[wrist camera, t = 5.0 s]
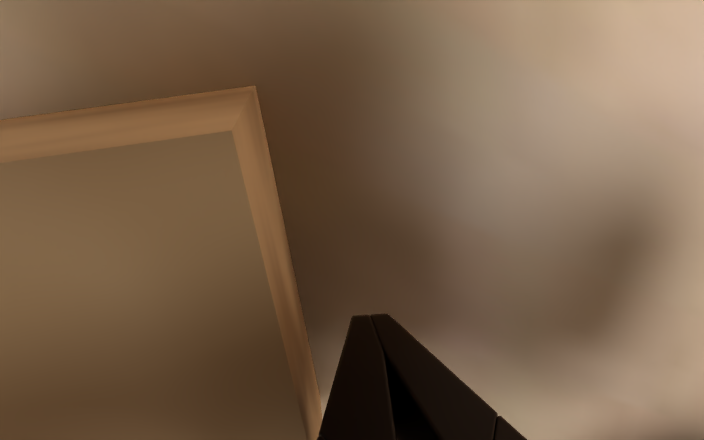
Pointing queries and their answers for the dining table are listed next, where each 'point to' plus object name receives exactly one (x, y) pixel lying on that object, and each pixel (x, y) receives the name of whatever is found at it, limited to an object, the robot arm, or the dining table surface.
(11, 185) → the light wood rectangular prism
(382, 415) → the robot arm
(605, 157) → the dining table surface
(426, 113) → the dining table surface
